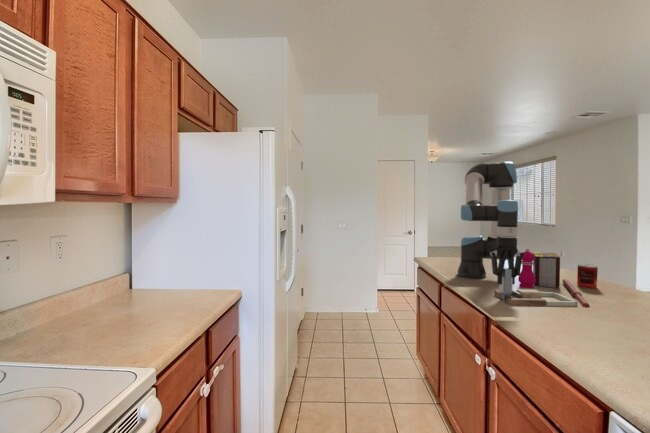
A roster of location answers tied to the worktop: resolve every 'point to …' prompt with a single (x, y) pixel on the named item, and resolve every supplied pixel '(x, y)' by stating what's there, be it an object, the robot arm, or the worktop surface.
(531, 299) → the groove board
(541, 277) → the protein box
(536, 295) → the light wooden cube
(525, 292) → the beige cube
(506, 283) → the t-shaped gray bracket
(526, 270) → the pepper mill
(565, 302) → the tray
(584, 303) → the rolling pin
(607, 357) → the worktop surface
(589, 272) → the canned food
